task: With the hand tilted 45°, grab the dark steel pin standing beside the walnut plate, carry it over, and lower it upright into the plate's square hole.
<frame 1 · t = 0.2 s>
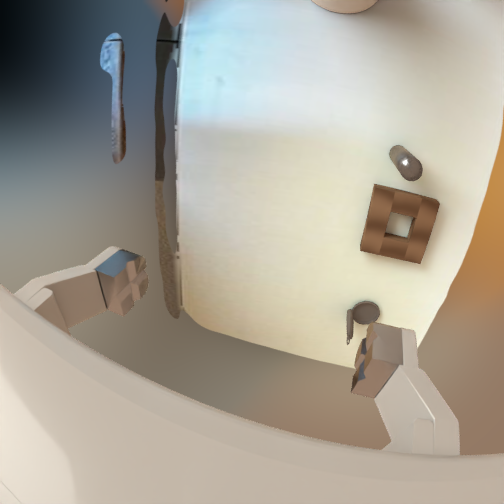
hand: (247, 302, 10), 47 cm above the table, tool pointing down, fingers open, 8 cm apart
socket plate: (398, 222, 52), on the table
steel pin: (398, 154, 46), on the table
pocket watch: (360, 310, 65), on the table
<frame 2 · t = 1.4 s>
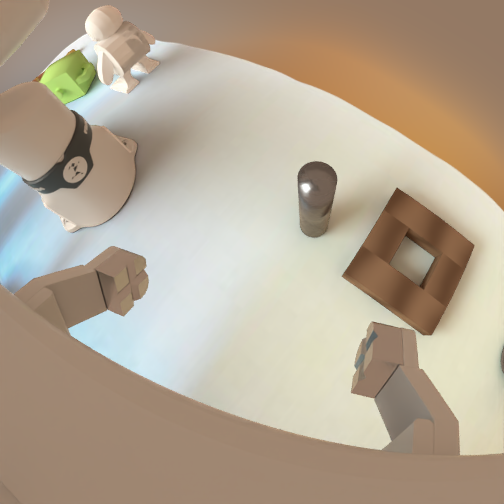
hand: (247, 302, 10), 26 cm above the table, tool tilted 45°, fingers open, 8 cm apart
socket plate: (410, 262, 33), on the table
lime green lipped cube: (73, 94, 55), on the table
steel pin: (313, 224, 37), on the table
toy robot: (138, 77, 51), on the table
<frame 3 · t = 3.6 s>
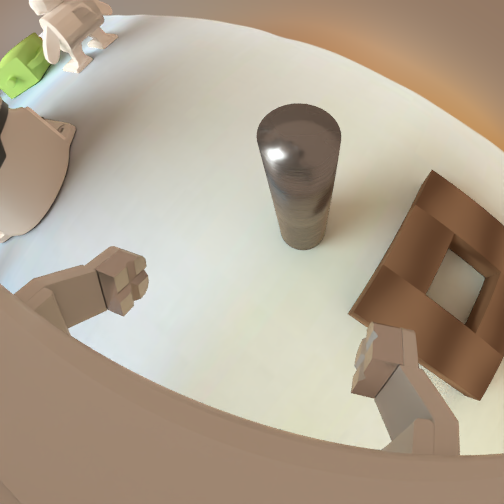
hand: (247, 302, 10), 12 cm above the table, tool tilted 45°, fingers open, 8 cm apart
socket plate: (452, 288, 20), on the table
lime green lipped cube: (30, 82, 41), on the table
steel pin: (302, 228, 23), on the table
toy robot: (93, 54, 37), on the table
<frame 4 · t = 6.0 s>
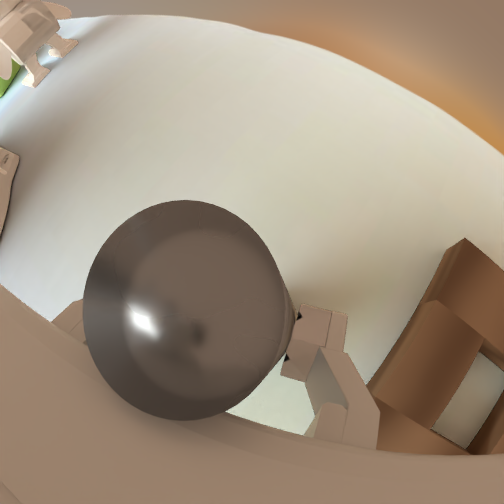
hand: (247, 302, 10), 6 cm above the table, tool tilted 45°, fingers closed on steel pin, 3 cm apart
socket plate: (467, 397, 12), on the table
steel pin: (266, 324, 16), on the table, touching gripper
toy robot: (52, 64, 30), on the table
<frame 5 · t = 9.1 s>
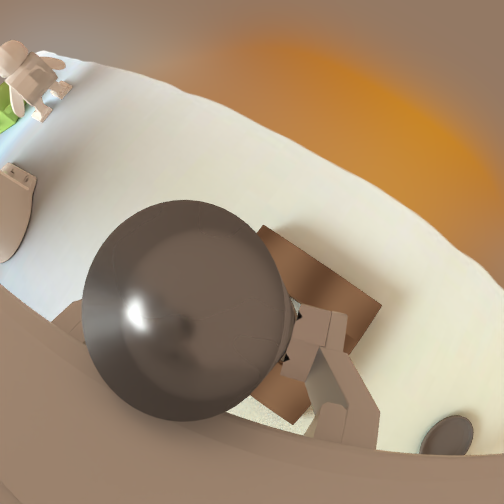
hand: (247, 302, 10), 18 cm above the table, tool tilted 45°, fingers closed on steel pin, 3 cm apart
socket plate: (280, 325, 27), on the table
lime green lipped cube: (9, 121, 49), on the table
steel pin: (266, 324, 16), point 12 cm above the table, touching gripper
pocket watch: (438, 451, 21), on the table
toy robot: (54, 103, 45), on the table
when the fingers open (7 cm above the table, at t = 12.0 s): steel pin stays where it is, resting in socket plate.
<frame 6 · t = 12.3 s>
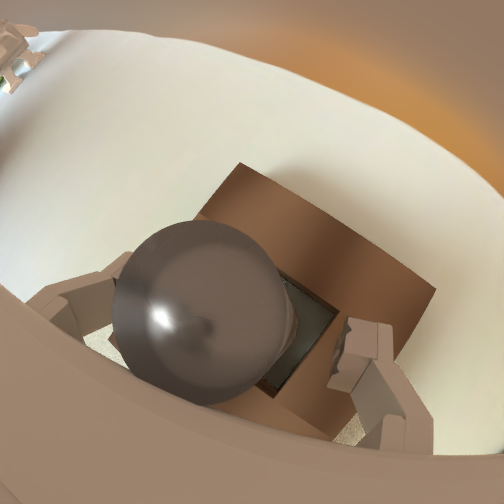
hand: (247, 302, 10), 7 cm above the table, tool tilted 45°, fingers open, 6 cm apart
socket plate: (268, 325, 17), on the table
steel pin: (267, 324, 17), resting in socket plate
toy robot: (25, 74, 35), on the table
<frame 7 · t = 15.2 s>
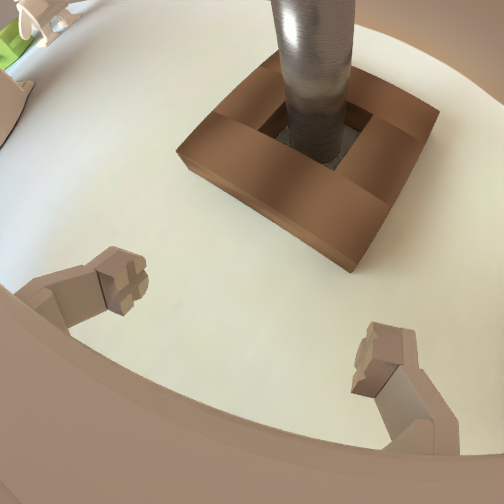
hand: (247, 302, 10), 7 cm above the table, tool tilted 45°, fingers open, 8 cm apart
socket plate: (317, 142, 19), on the table
lime green lipped cube: (12, 61, 41), on the table
steel pin: (315, 142, 19), resting in socket plate
toy robot: (61, 31, 37), on the table
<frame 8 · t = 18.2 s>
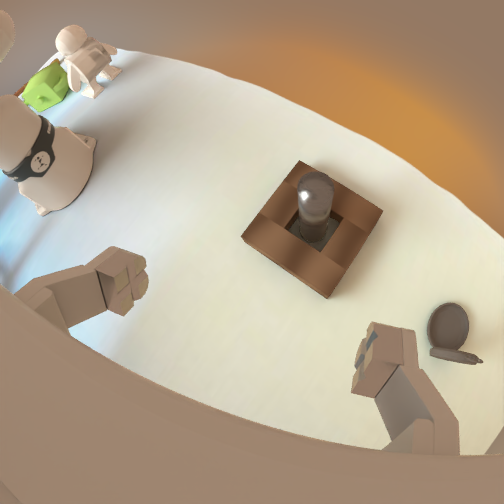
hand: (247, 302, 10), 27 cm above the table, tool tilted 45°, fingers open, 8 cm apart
socket plate: (313, 229, 38), on the table
lime green lipped cube: (53, 100, 60), on the table
steel pin: (313, 229, 38), resting in socket plate
pocket watch: (442, 336, 32), on the table
toy robot: (104, 83, 56), on the table
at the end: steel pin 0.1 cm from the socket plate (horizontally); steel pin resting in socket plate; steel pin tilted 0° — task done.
